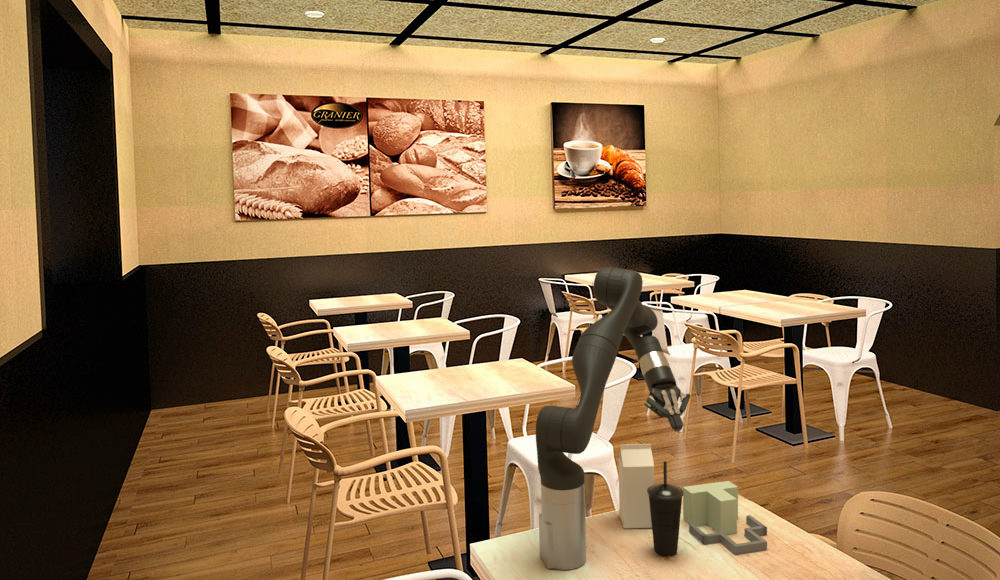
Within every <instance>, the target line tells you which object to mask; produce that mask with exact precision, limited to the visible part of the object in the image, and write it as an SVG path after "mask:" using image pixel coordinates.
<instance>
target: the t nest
mask: <svg viewBox="0 0 1000 580" xmlns="http://www.w3.org/2000/svg"><path fill="white" fill-rule="evenodd" d="M745 520H746V521H745V523H746V524H747V525H748V526H750V527H745V528H744V533H743V534H744V537H745V538H746V539H748V540H749V541H747V542H742V543H736V542H735V541H734V540H733V539H732V538H730V537H729V536H728V534H727V535H725V534H724V533H723V532H718V533H717V532H712V533H711V532H710V533H705V532H704V531H702V530H701V528H699V527H698V526H695V525H694V524H688V532H689V533H690V534H691V535H692V536H693V537H695V538H696V539H697V540H698V541H699V542H700V543H701V544H702V545H704V546H705V545H710V544H718V543H721V544H722V545H723V546H724V547H725V548H727V549H728V551H730V552H732V553H733V554H734V555H735V556H737V555H742V554H744V555H745V554H748V553H749V554H750V553H755V552H761V551H767V550H768V541H767V540H765V539H764V538H763V536H767V535H768V526H766V525H765V524H764V523H762V522H760V521H759V520H758V519H756V518H755V517H754V516H752V515H751V514H749V515H746V516H745Z"/></svg>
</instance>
